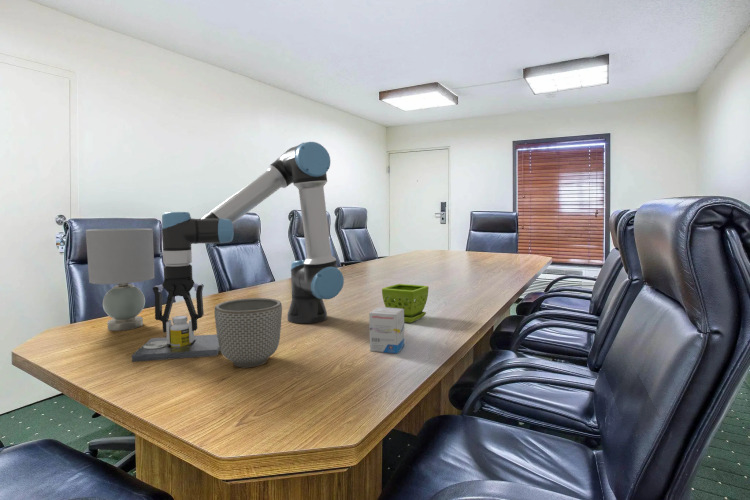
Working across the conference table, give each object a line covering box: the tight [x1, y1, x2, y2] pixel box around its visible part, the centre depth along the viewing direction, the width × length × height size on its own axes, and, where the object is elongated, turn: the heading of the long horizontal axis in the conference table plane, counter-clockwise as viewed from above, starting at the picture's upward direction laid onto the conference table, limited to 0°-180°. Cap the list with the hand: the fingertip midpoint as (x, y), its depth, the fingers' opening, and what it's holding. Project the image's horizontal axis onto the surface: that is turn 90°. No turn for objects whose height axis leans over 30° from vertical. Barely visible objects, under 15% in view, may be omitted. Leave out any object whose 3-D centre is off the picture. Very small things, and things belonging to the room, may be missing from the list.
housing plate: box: [131, 333, 221, 363], centre depth 120 cm, size 22×16×2 cm
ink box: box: [368, 306, 405, 355], centre depth 120 cm, size 9×8×12 cm
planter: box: [214, 297, 283, 369], centre depth 108 cm, size 17×17×16 cm
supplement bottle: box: [170, 315, 191, 348], centre depth 119 cm, size 5×5×10 cm
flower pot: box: [381, 283, 430, 323], centre depth 154 cm, size 14×14×13 cm
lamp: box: [85, 228, 156, 332], centre depth 144 cm, size 20×20×35 cm
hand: (180, 341), depth 119 cm, fingers closed on supplement bottle, 5 cm apart
